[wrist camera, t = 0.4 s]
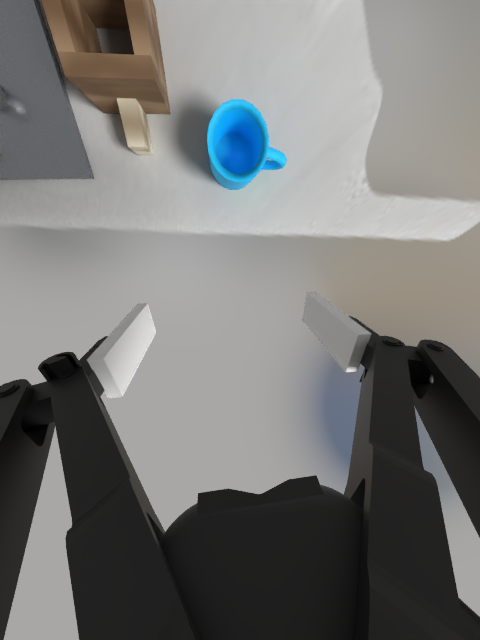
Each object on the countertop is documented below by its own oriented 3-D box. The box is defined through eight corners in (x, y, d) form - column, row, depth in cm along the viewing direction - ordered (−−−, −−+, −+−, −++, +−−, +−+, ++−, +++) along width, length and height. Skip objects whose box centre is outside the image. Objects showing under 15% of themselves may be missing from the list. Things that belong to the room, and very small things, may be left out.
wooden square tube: (75, 3, 23) (12, -93, 16) (155, 8, 24) (129, -81, 17) (115, 155, 30) (83, 135, 23) (176, 155, 30) (164, 136, 23)
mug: (208, 185, 33) (205, 176, 26) (210, 122, 29) (208, 91, 22) (273, 196, 35) (287, 191, 28) (283, 138, 31) (303, 114, 24)
